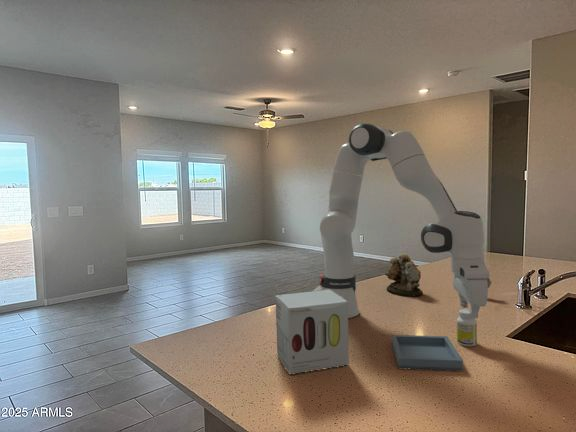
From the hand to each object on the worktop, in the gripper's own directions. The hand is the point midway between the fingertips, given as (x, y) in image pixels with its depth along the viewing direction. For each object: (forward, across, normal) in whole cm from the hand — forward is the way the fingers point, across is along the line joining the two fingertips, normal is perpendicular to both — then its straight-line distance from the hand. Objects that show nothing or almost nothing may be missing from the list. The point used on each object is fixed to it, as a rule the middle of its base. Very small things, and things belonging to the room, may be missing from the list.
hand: (468, 312), depth 116 cm
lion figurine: (+10, -51, +17) cm, 54 cm away
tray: (+9, +10, -15) cm, 20 cm away
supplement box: (+9, +15, -46) cm, 49 cm away
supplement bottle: (+10, 0, -1) cm, 10 cm away
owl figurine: (+9, -55, -11) cm, 57 cm away
